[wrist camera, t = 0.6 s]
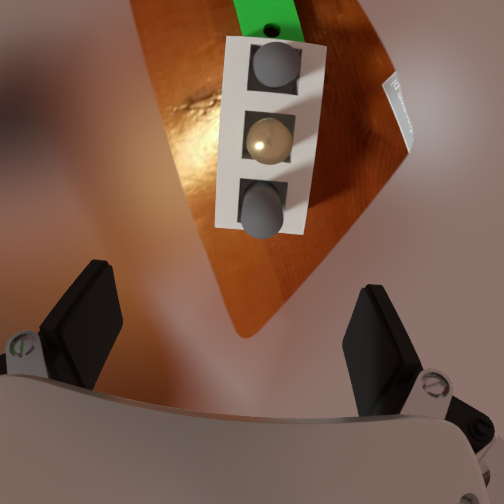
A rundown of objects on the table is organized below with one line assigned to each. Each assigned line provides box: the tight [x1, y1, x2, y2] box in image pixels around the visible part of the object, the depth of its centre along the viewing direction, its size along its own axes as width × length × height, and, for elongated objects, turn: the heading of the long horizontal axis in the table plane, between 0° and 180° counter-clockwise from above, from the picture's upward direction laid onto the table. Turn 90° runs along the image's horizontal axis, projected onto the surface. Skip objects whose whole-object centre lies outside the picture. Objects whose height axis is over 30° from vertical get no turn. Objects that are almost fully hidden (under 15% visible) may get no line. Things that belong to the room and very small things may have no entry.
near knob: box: [253, 42, 301, 88], centre depth 22 cm, size 4×4×6 cm
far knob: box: [241, 181, 284, 239], centre depth 28 cm, size 4×4×6 cm
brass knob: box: [246, 117, 293, 165], centre depth 25 cm, size 4×4×6 cm
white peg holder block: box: [215, 36, 327, 235], centre depth 29 cm, size 19×9×6 cm, turn 176°
